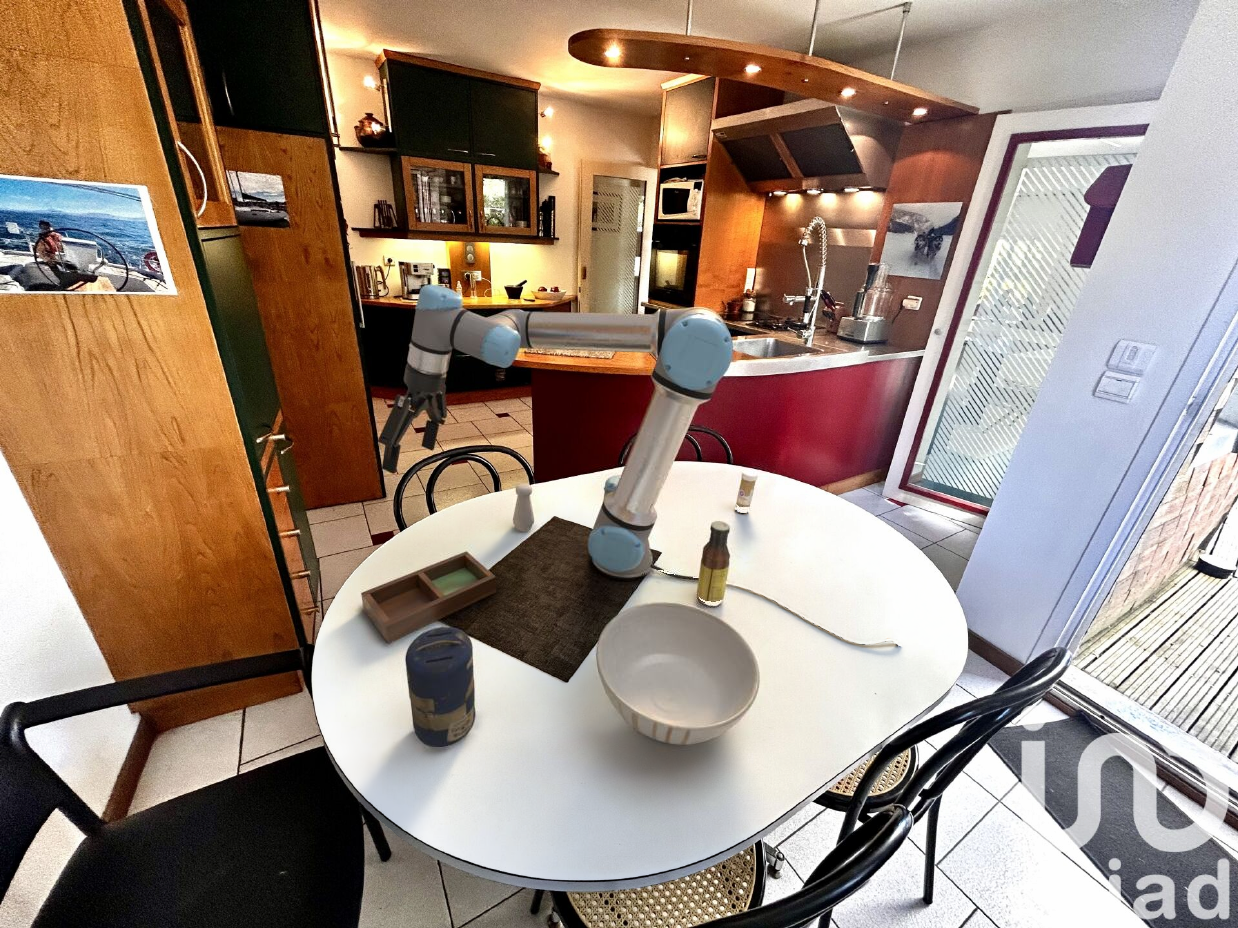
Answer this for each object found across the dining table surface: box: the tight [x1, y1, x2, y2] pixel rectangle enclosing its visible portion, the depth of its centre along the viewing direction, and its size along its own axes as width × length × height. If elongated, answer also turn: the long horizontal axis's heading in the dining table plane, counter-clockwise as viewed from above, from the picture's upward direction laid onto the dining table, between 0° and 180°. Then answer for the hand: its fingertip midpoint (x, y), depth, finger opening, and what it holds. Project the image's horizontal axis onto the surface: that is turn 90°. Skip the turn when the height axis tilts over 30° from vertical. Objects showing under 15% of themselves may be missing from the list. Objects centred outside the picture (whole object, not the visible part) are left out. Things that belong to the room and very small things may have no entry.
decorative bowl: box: [595, 601, 761, 746], centre depth 83 cm, size 27×27×12 cm
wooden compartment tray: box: [360, 550, 497, 644], centre depth 104 cm, size 12×24×4 cm, turn 135°
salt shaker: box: [512, 482, 535, 533], centre depth 131 cm, size 6×6×13 cm
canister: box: [404, 626, 477, 749], centre depth 76 cm, size 10×10×18 cm
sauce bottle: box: [696, 520, 731, 604], centre depth 109 cm, size 7×6×20 cm
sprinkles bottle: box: [735, 469, 758, 508], centre depth 150 cm, size 5×5×14 cm
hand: (409, 458), depth 105 cm, fingers open, 13 cm apart
